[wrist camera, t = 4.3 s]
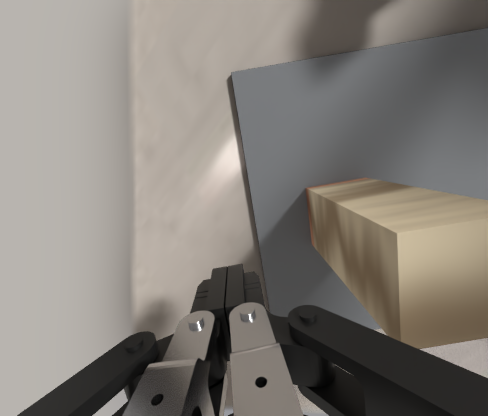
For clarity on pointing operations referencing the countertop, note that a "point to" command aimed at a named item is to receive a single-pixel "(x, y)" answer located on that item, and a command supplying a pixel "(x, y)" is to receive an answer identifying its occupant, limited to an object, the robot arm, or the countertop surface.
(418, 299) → the maple block
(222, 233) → the countertop surface
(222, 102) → the countertop surface
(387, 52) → the rubber mat
